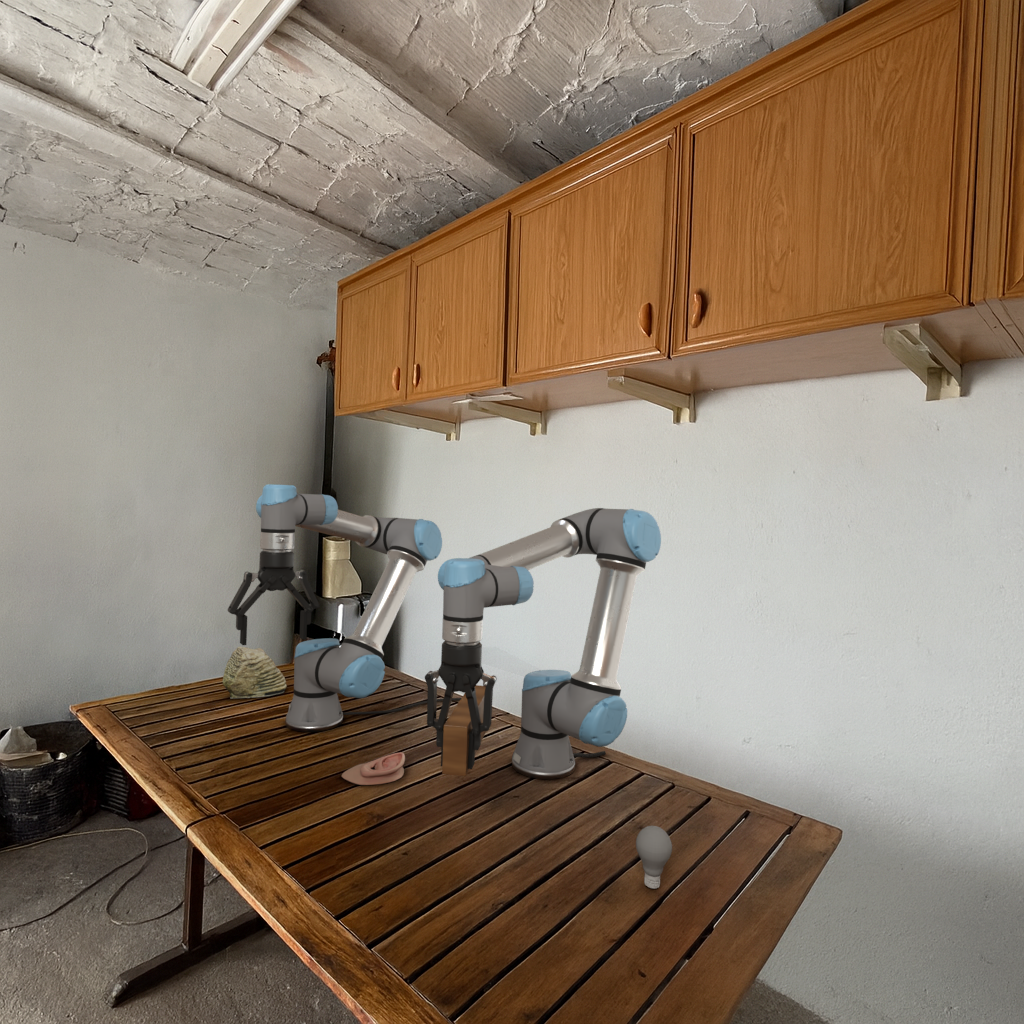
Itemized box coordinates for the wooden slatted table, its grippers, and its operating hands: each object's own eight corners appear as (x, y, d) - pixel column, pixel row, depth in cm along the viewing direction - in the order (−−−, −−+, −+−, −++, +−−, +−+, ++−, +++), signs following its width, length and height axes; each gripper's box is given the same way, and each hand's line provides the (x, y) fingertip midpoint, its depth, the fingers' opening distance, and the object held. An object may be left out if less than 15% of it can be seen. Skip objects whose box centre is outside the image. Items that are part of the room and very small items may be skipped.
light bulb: (629, 875, 110) (632, 818, 110) (663, 875, 110) (666, 818, 110) (639, 897, 104) (642, 837, 104) (675, 897, 104) (678, 837, 104)
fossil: (218, 695, 195) (220, 647, 195) (278, 685, 208) (279, 640, 207) (228, 703, 189) (230, 653, 188) (289, 692, 201) (290, 645, 201)
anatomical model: (335, 763, 141) (358, 744, 152) (334, 781, 141) (357, 761, 152) (391, 771, 138) (410, 751, 149) (391, 789, 138) (410, 768, 149)
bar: (468, 725, 141) (470, 684, 141) (488, 726, 141) (489, 686, 141) (442, 774, 116) (443, 725, 116) (465, 776, 116) (467, 727, 115)
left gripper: (223, 552, 137) (219, 650, 138) (334, 551, 152) (331, 639, 152) (215, 549, 143) (212, 643, 144) (323, 548, 158) (320, 633, 158)
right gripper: (411, 642, 116) (406, 768, 116) (505, 649, 114) (500, 777, 114) (421, 634, 123) (417, 752, 124) (510, 640, 121) (506, 760, 122)
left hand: (273, 641), depth 148 cm, fingers open, 13 cm apart
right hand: (457, 764), depth 119 cm, fingers closed on bar, 4 cm apart
